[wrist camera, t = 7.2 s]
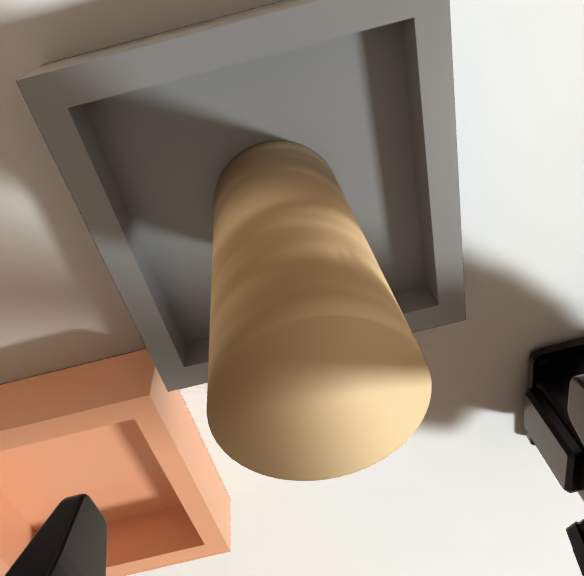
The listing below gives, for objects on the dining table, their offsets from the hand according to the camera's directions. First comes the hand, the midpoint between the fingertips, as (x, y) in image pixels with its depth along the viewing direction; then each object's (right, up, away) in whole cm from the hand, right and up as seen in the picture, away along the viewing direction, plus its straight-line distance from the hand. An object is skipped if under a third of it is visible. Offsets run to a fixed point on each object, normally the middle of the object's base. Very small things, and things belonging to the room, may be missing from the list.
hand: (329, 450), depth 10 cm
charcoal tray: (-1, +7, +10) cm, 12 cm away
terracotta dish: (-11, -5, +16) cm, 20 cm away
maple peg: (-1, +6, +9) cm, 11 cm away
